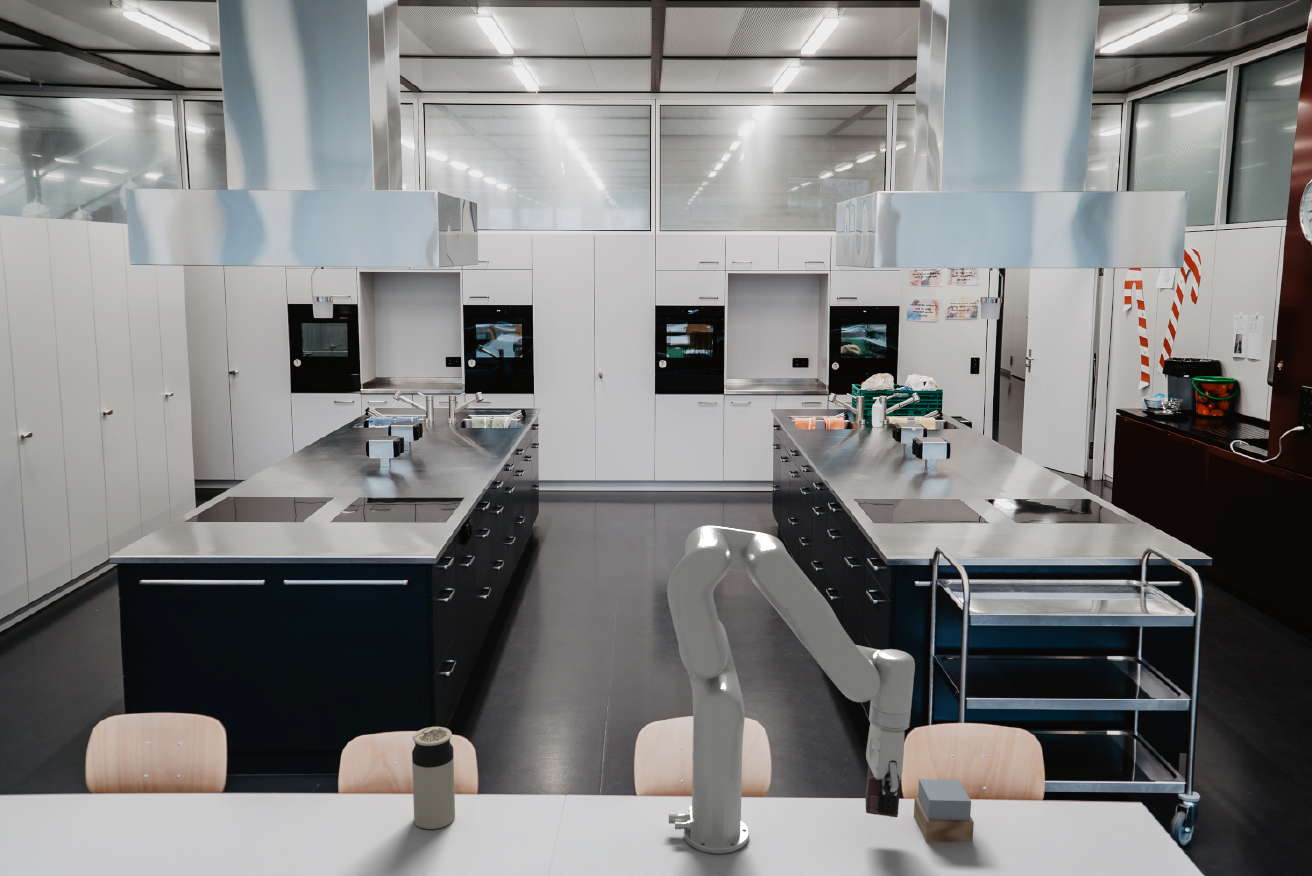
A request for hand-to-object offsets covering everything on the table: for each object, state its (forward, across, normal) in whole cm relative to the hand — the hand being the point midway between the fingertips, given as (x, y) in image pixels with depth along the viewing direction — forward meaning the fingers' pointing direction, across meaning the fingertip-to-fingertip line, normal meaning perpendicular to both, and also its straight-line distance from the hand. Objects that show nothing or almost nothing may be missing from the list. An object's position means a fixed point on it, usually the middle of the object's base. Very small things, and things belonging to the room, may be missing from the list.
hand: (881, 801), depth 184 cm
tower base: (+7, -3, +13) cm, 16 cm away
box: (+2, 0, 0) cm, 2 cm away
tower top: (+3, -3, +13) cm, 14 cm away
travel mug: (+12, -5, -88) cm, 88 cm away
